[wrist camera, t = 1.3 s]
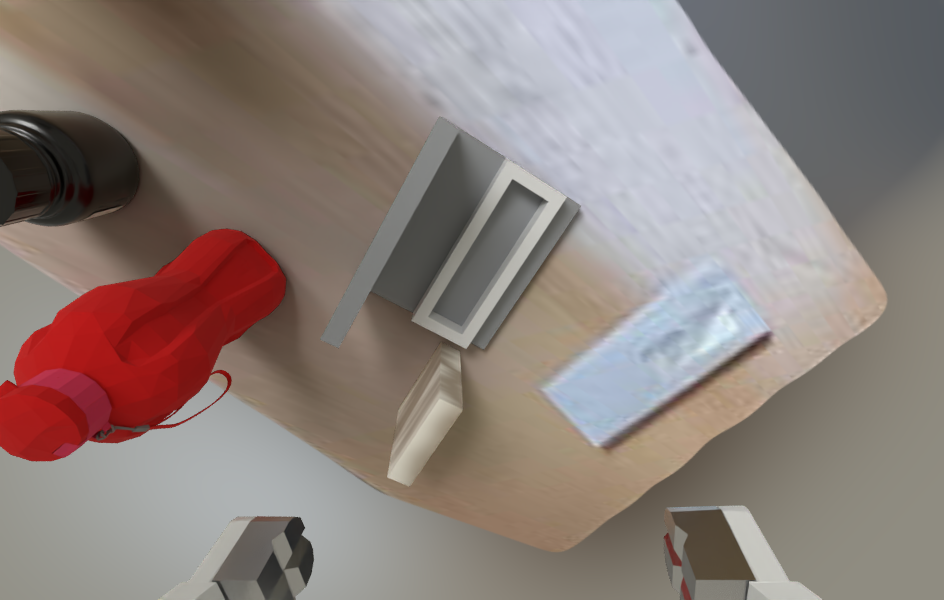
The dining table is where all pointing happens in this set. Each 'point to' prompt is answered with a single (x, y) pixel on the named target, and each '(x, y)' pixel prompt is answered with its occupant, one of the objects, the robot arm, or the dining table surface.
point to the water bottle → (136, 349)
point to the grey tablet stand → (458, 241)
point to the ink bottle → (62, 168)
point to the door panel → (426, 414)
